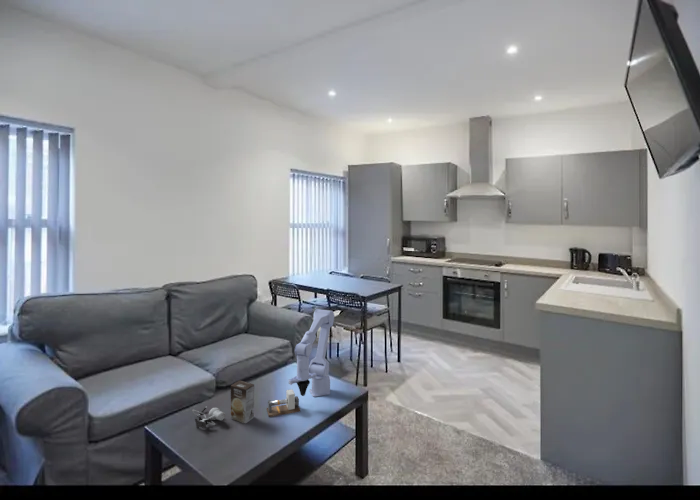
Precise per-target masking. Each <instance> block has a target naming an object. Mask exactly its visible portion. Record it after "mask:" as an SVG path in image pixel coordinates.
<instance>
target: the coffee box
mask: <svg viewBox="0 0 700 500" xmlns="http://www.w3.org/2000/svg"><path fill="white" fill-rule="evenodd" d="M254 418H255V384H254V383H252V382H251V383H250V382H247V381H243V380H241V379H239V380H237V381H236V382H234V383H232V384H231V385H230V419H231V420H233V421H237V422H240V423H242V424H247V423H248V422H250V421H251V420H252V419H254Z"/></svg>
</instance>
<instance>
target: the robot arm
mask: <svg viewBox="0 0 700 500" xmlns="http://www.w3.org/2000/svg"><path fill="white" fill-rule="evenodd" d="M312 316H313V321H312V322H311V326H310V328H309V330H307V331H305V333H304V335H303V336H302V338H301V340H300V342H299V343H297V344H296V345H295V348H294V355H295V358H296V376H294V377H291V378H290V379H288V384H289V385H290V386H292V385H293V384H296V385H297V387H298V390H299V394H300V395H301V396H302V397H304V396H305V395H306V392H307V389H308V387H309V385H310V383H311V389H309V392H310V394H311V395H312V397H313V398H315V397H321V396H327V395H328V396H329V395H331V377H330V375H329V372H330V362H329V361H328V359H326V355H327V354H326V353H327V348H328V344H329V343H328V341H329V337H330V330H331V327H333V325H334V322H335V313H334V311H333V310H329V309H320V308H315V310H314V312H313V315H312ZM319 329H320V331H319V337H318V343H317V349H316V352H315V357H314V358H312V359H311V360H310V355H311V353H312V349H313V344H314V342H315V341H316V338H317V336H316V335H317V333H318V330H319ZM310 379H311V381H310Z"/></svg>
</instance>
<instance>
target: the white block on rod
mask: <svg viewBox="0 0 700 500" xmlns="http://www.w3.org/2000/svg"><path fill="white" fill-rule="evenodd" d="M285 393H286V396H285V399H288V403H287V404H285V405H287V407H288V410H291V409H295V396H296V394H295V391H294V389H293V388H292V389H286V391H285Z"/></svg>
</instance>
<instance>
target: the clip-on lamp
mask: <svg viewBox="0 0 700 500" xmlns="http://www.w3.org/2000/svg"><path fill="white" fill-rule="evenodd" d="M207 407H208V406H204V407H203V408H202V409H201V410H200V411H199V410H195V409H192V413H193V414H194V415H196V416H197V417H198V418H194V421H195V426H196V428H197V429H200V428H203V429H205V428H207V426H210V425H213V426H215V425H216V423H215V422H214V421H212V420H218V421H223V420H224V419H225V417H226V413H225V412H223V411H221V409H220V408H218V407H212V408H211V409H210V410H209V412H208V417H207V416H206V414H205V413H204V412H205V411H206V409H207ZM195 412H197V413H199V414H197V413H195ZM201 415H203V418H202V417H201Z"/></svg>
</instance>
